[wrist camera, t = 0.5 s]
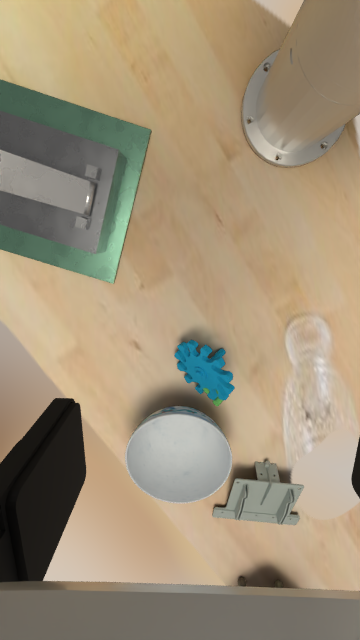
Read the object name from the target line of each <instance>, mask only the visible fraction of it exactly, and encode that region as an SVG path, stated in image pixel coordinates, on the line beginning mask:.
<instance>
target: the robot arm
mask: <svg viewBox="0 0 360 640" xmlns="http://www.w3.org/2000/svg"><path fill="white" fill-rule="evenodd" d="M264 69H267V72H265V71H264ZM241 114H242V125H243V131H244V134H245V136H246V139H247V141H248V143H249V145H250V146H251V148H252V149H253V151H254V152H255V153H256V154H257V155H258V156H259V157H260V158H262V159H263V160H265V161H266V162H268V163H270V164H273V165H275V166H279V167H286V168H287V167H298V166H302V165H305V164H307V163H310V162H312V161H314V160H316V159H317V158H319V157H320V156H322V155H323V154H324V153H326V152H327V151H328V150H329V149H330V148H331V147H332V146H333V144H334V143H335V142H336V141H337V139H338V138H339V136H340V135H341V133H342V131H343V129H344V127H345V124H346V123H347V122H348V121H350V120H351V119H353V118H354V117H356V116H357V115H359V114H360V0H304V2H303V4H302V6H301V8H300V10H299V12H298V14H297V16H296V18H295V20H294V22H293V24H292V26H291V28H290V30H289V32H288V34H287V36H286V38H285V40H284V42H283V44H282V46H281V48H280V49H279V50H277V51H275V52H273V53H272V54H271V55H270V56H268V57H267V58H266V59H265V60H264V61H263V62H262V63H261V64H260V65H259V66H258V68H257V69H256V70H255V72H254V74H253V75H252V77H251V79H250V81H249V83H248V85H247V88H246V91H245V94H244V97H243V102H242V110H241ZM248 120H250V122H251V123H250V124H248V123H247V121H248ZM320 145H322V146H323V149H322V148H321V147H320ZM276 156H277V157H278V158H279V159H278V160H276V159H275V157H276ZM85 477H86V463H85V452H84V442H83V431H82V420H81V410H80V404H79V403H75V401H74V399H70V398H55V399H54V400H53V401H52V402H51V404H50V405H49V406H48V407H47V409H46V410H45V411H44V412H43V414H42V415H41V416H40V417H39V419H38V420H37V421H36V422H35V423H34V425H33V426H32V427H31V429H30V430H29V431H28V432H27V433H26V435H25V436H24V437H23V438H22V440H20V441H19V442H18V443H17V444H16V445H15V446H14V447H13V449H12V450H11V451H10V452H9V454H8V455H7V456H6V457H5V459H4V460H3V461H2V462H1V463H0V640H360V591H345V590H320V589H295V588H269V587H242V586H215V585H212V586H211V585H183V584H182V585H181V584H153V583H152V584H151V583H121V582H119V583H118V582H71V581H43V578H44V576H45V574H46V572H47V569H48V567H49V564H50V562H51V560H52V557H53V555H54V553H55V550H56V548H57V546H58V543H59V541H60V538H61V536H62V533H63V531H64V529H65V527H66V524H67V522H68V519H69V517H70V515H71V512H72V510H73V508H74V505H75V502H76V500H77V498H78V495H79V493H80V491H81V488H82V486H83V484H84V481H85ZM352 485H353V488H354V490H355V492H356V493H357V495H358V496H359V498H360V437H359V442H358V447H357V452H356V458H355V463H354V468H353V473H352Z"/></svg>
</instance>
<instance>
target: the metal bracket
mask: <svg viewBox="0 0 360 640" xmlns="http://www.w3.org/2000/svg"><path fill="white" fill-rule="evenodd" d="M255 467H256V474H257V480H248V479H238V478H236V479H235V480H234V483H233V487H232V490H231V493H230V496H229V499H228V502H227V506H226V507H225V508H222V507H214V511H213V514H212V516H213V517H217V518H227V519H236V520H247V521H258V522H268V523H278V524H281V525H283V524H288V525H296V524H297V522H298V521H299V519H300V518H299V515H293V514H290V512H291V510H292V508H293V507H294V505H295V503H296V501H297V499H298V497H299V496H300V494H301V492H302V490H303V488H304V486H303V485H299V484H289V483H280V479H279V474H278V470H277V465H276V464H275V463H273V464H271V463H270V462H269V461H265V462H260V463H258V462H255ZM260 474H262V475H260ZM273 475H275V477H274V476H273ZM237 482H238V483H237ZM298 488H300V489H298Z"/></svg>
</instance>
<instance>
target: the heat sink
mask: <svg viewBox="0 0 360 640" xmlns="http://www.w3.org/2000/svg"><path fill="white" fill-rule="evenodd" d="M150 135H151V130H150V129H147V128H144V127H141V126H138V125H135V124H132V123H129V122H126V121H123V120H120V119H117V118H114V117H111V116H108V115H105V114H102V113H99V112H96V111H93V110H90V109H87V108H84V107H81V106H78V105H75V104H72V103H69V102H66V101H63V100H60V99H57V98H54V97H51V96H48V95H45V94H42V93H39V92H36V91H33V90H30V89H27V88H24V87H21V86H18V85H15V84H12V83H9V82H6V81H3V80H0V150H3V151H5V152H8V153H11V154H14V155H17V156H20V157H22V158H25V159H28V160H31V161H34V162H37V163H39V164H42V165H45V166H48V167H51V168H54V169H56V170H59V171H62V172H65V173H68V174H70V175H73V176H76V177H79V178H82V179H85V180H87V181H90V182H93V183H96V187H95V191H94V196H93V201H92V206H91V211H90V216H88V215H85V214H81V213H78V212H74V211H71V210H67V209H64V208H60V207H57V206H53V205H50V204H46V203H43V202H39V201H36V200H32V199H29V198H25V197H22V196H18V195H15V194H11V193H8V192H4V191H1V190H0V249H1V250H5V251H8V252H11V253H14V254H18V255H21V256H24V257H28V258H31V259H34V260H37V261H41V262H44V263H47V264H50V265H54V266H57V267H60V268H64V269H67V270H70V271H73V272H77V273H80V274H83V275H86V276H90V277H93V278H96V279H100V280H103V281H106V282H109V283H114V282H115V278H116V274H117V270H118V265H119V261H120V257H121V253H122V249H123V245H124V241H125V237H126V233H127V229H128V225H129V221H130V217H131V212H132V208H133V204H134V200H135V196H136V192H137V188H138V184H139V180H140V176H141V172H142V168H143V163H144V159H145V155H146V151H147V147H148V143H149V139H150Z"/></svg>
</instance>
